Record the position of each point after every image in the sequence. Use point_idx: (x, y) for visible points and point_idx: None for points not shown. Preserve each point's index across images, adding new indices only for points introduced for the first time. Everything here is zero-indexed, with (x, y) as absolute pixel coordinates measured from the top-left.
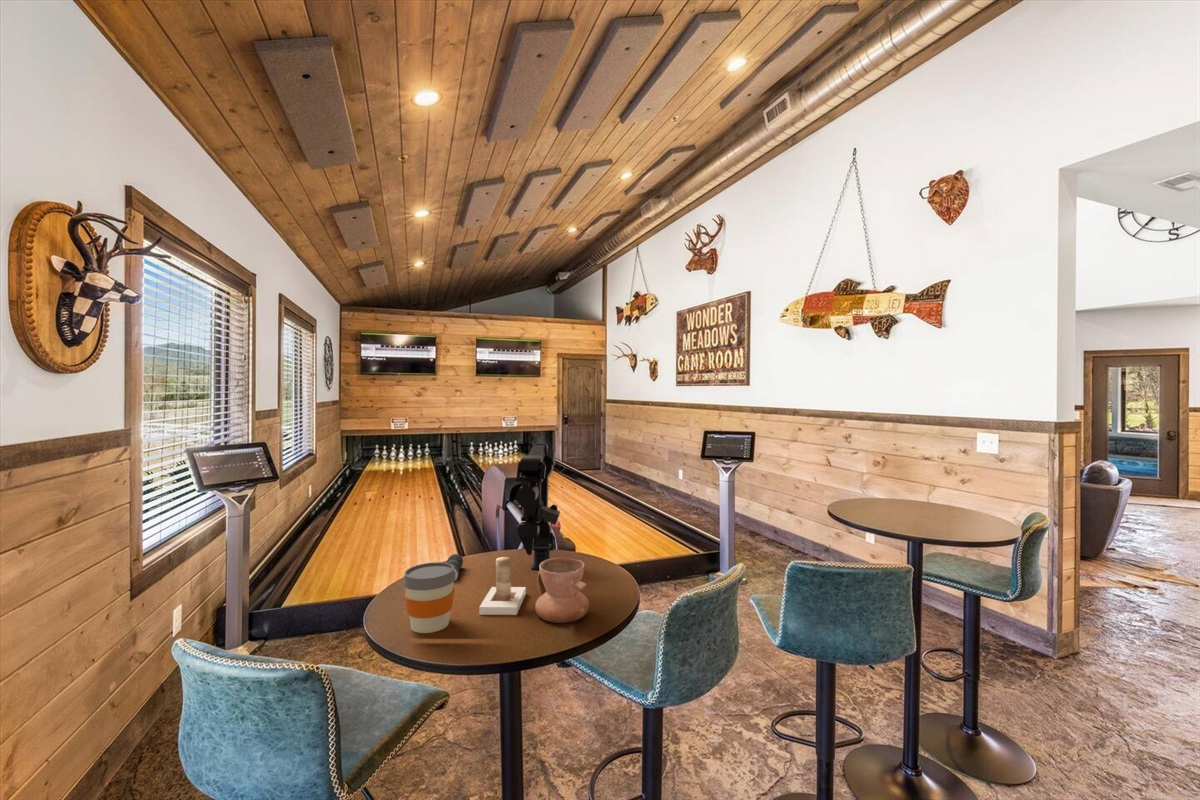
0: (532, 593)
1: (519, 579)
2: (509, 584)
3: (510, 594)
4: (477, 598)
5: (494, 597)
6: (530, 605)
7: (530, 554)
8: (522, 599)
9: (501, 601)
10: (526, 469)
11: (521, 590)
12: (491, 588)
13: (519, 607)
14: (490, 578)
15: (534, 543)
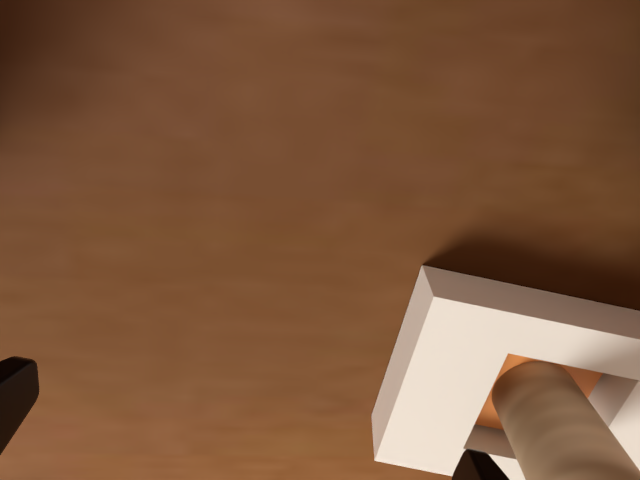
0: (370, 224)
1: (132, 285)
2: (628, 461)
3: (575, 395)
4: (370, 465)
5: (479, 436)
6: (552, 246)
7: (486, 465)
8: (540, 303)
9: (615, 428)
10: None
11: (487, 324)
12: (398, 462)
13: (633, 319)
14: (117, 415)
15: (14, 403)
